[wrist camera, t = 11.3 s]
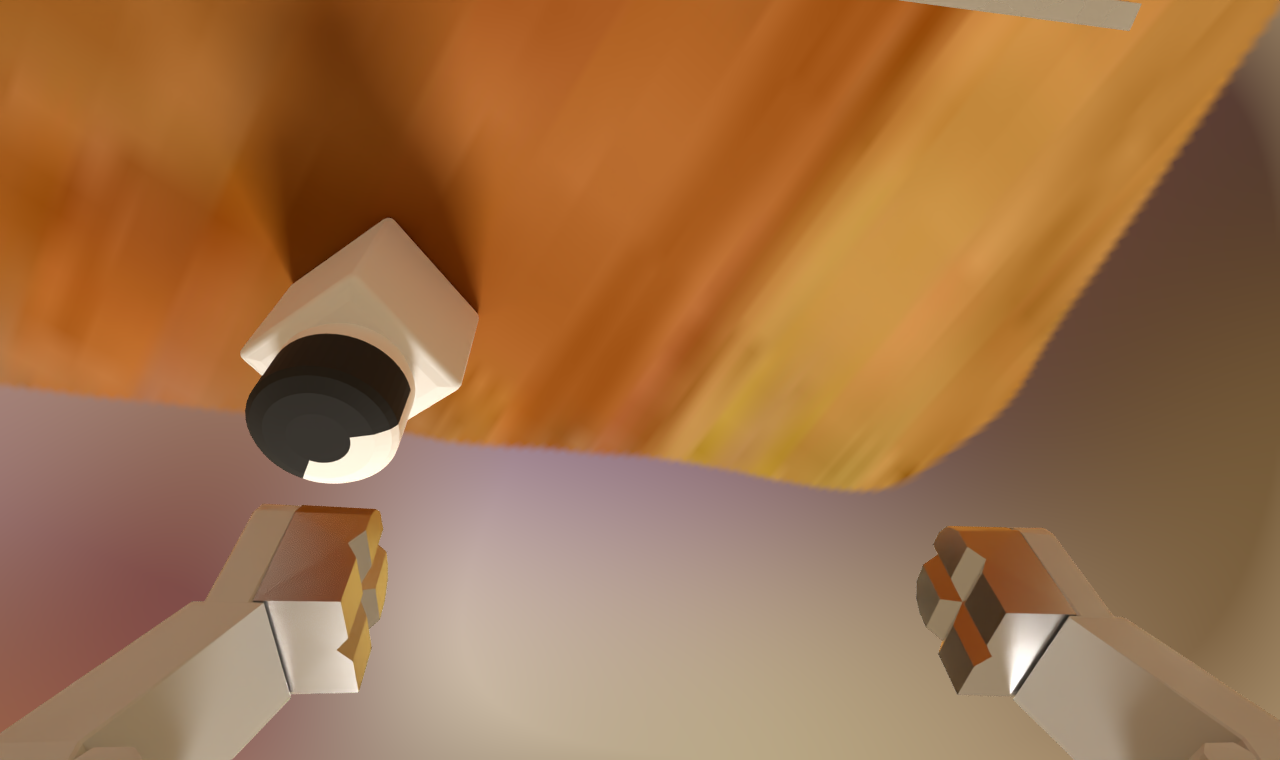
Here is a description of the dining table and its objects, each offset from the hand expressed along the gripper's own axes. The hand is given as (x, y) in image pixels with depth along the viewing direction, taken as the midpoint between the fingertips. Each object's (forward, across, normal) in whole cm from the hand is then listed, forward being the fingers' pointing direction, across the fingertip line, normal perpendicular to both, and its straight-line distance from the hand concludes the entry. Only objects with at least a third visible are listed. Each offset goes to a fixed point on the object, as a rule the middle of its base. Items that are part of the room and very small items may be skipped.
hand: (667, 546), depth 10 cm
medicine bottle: (+28, +11, +12) cm, 32 cm away
